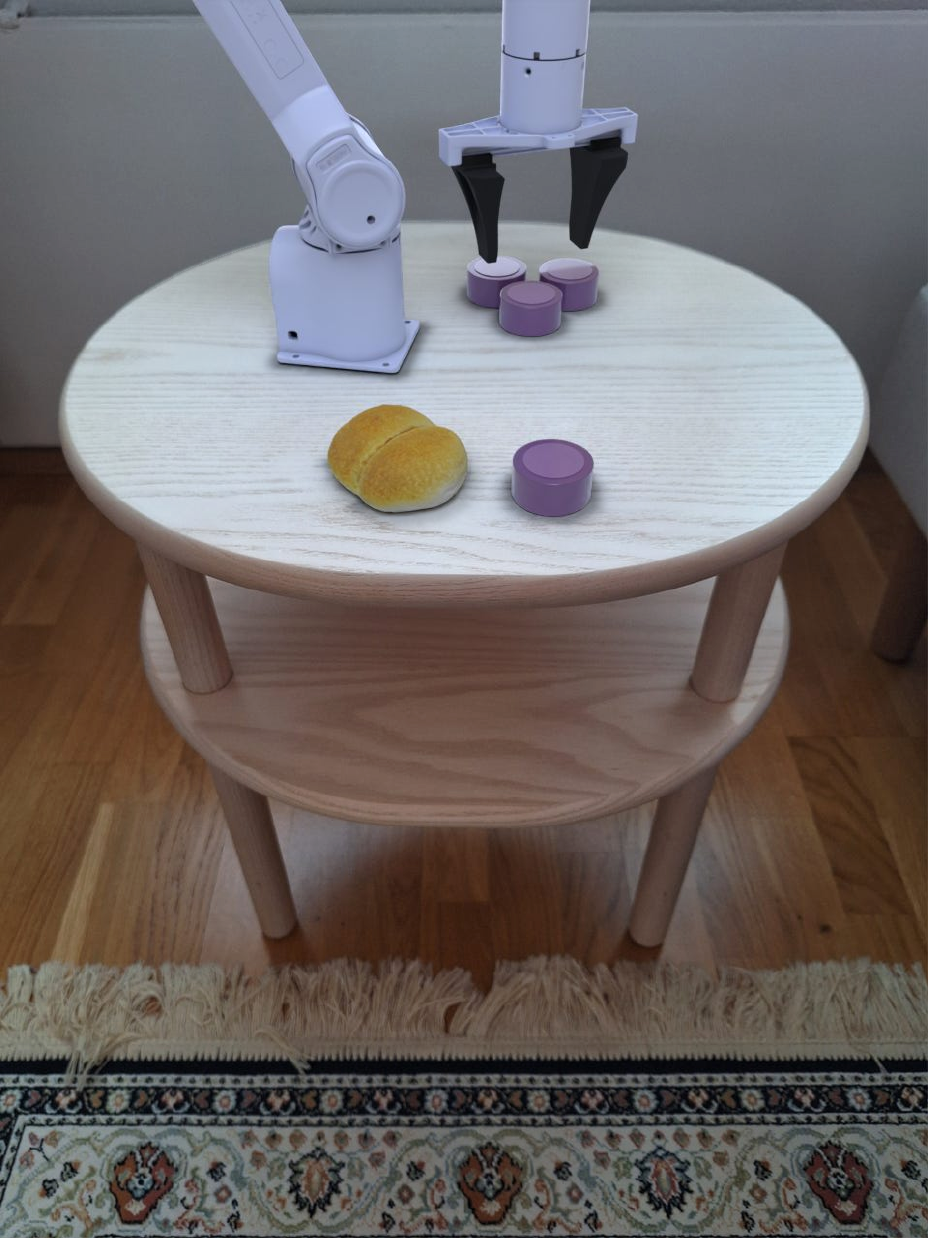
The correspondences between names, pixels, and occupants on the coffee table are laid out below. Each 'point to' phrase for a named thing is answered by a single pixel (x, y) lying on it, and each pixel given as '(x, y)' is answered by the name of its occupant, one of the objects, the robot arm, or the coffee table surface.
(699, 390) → the coffee table surface
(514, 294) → the plum dish
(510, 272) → the purple short cylinder
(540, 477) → the plum dish front
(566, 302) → the plum dish
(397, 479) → the bread roll
